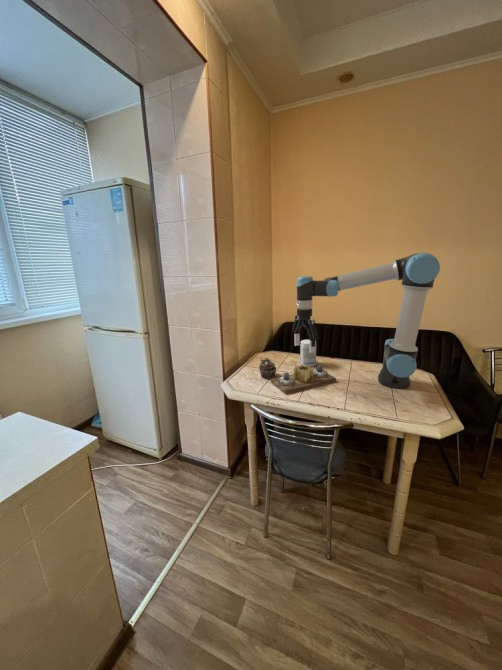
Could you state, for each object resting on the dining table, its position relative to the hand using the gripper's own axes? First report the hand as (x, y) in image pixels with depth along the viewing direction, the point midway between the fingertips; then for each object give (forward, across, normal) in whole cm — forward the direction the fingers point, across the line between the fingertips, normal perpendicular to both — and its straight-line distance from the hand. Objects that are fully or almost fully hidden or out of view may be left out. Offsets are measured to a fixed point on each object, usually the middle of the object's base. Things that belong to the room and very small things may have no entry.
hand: (304, 348), depth 144 cm
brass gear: (+17, 0, 0) cm, 17 cm away
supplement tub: (+19, -20, +17) cm, 32 cm away
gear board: (+19, 0, 0) cm, 19 cm away
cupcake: (+19, -16, -13) cm, 28 cm away
